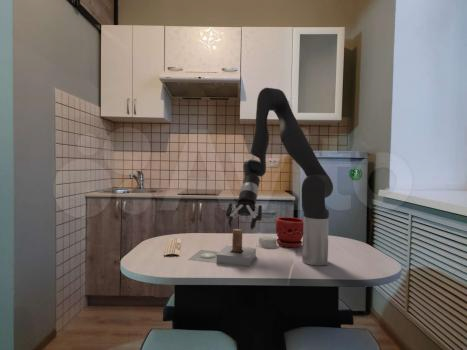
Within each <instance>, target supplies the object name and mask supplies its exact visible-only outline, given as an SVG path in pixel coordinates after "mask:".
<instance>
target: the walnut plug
mask: <svg viewBox="0 0 467 350" xmlns="http://www.w3.org/2000/svg"><path fill="white" fill-rule="evenodd" d="M231 246H232V253H240V254H242V247H243V229H241V228H233V229H232V244H231Z"/></svg>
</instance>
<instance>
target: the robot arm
mask: <svg viewBox="0 0 467 350" xmlns="http://www.w3.org/2000/svg"><path fill="white" fill-rule="evenodd" d="M257 95H258V96H257V99H256V100H257V101H256V110H255V111H256V113H255V125H254V126H255V127H254V128H255V129H254V134H253V139H252V143H251V148H250V153H251V154H250V155H253V156H254V157H256V158H258V159H259V160H256V159H252V158H247V159H246V160H245V161H244V162H243V166H242V168H243V182H242V185H241V188H240V191H239V195H238V199H237V203H236V204H233V203H229V204H228V207H227V210H226V212H225V216H226V219H228V226H229V228H233V225H234V220H235V219H236V218H238V217H240V216H242V217H243V216H244V217H245V216H246V217H249V216H250V218H251V223H250V230H254V228H256V223H257V222H258V221H259V222H260V221H262V219H263V218H262V216H263V205H258V206H256V203H257V198H258V193H259V186H260V181H261V180H260V177H263V176H264V175H265V174H266V172H267V163H266V162H267V161H266V158H267V151H268V147H269V143H270V132H269V128H268V116H269V112H270V111H272V112H274V113H275V115H276V117H277V119H278V121H279V125H280V126H279V127H280V128H279V130H280V131H279V136H280V137H279V138H280V141H281V142H282V145H283V147H284V148H285V151H286V152H287V154H288V155H289V156H290V157H291V158H292V160H293V161H294V162H295V163H296V164H297V165H298V166H299V167H300V168H301V169H302V171H303V172H304V174H305V178H304V179H303V181H302V185H301V207H302V209H301V210H302V211H303V219H302V220H303V237H302V250H301V251H302V255H301V261H302V263H305V264H307V265H310V266H328V264H329V263H328V257H329V222H330V221H329V219H330V211H329V209H327V207H326V198H328V197H330V196H331V195H332V193H333V191H334V185H333V182H332V179H331V178H330V176H329V175H328V173H327V172H326V170H325V169H324V168H323V166H322V164H321V163H320V161H319V160H318V158H317V156H316V153H315V152H314V150H313V148H312V147H311V144H310V142H309V140H308V138H307V137H306V135H305V132H304V131H303V129H302V127H301V126H300V124H299V122H298V120H297V119H296V117H295V115H294V112H293V110H292V108H291V106H290V104H289V101H288V99H287V95H286V94H285V92H284V91H283V90H281V89H280V88H279V89H278V88H274V87H264V88H261V89H260V91H259V92H258V94H257ZM255 211H256V212H257V215H255V213H254V212H255Z"/></svg>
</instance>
